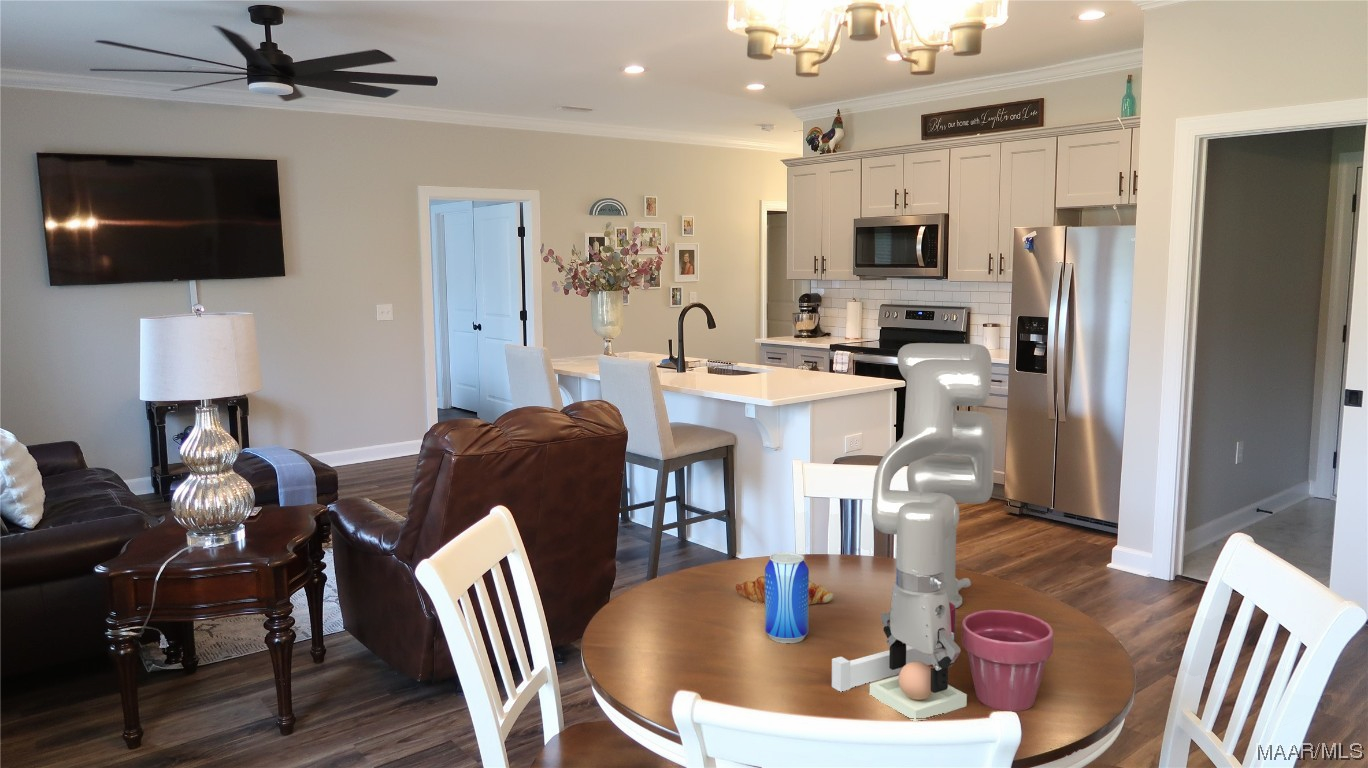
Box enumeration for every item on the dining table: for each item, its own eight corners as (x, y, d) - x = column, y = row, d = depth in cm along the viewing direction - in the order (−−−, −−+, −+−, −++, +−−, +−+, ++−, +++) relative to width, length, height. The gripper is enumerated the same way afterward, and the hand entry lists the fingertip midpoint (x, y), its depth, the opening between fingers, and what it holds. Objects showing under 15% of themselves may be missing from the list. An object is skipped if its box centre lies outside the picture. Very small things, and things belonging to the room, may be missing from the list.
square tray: (918, 680, 158) (919, 669, 158) (966, 706, 149) (966, 694, 149) (869, 695, 153) (869, 683, 153) (915, 722, 143) (915, 710, 143)
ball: (917, 686, 155) (918, 652, 154) (943, 700, 150) (944, 665, 149) (890, 694, 152) (891, 660, 151) (916, 709, 147) (916, 673, 146)
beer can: (806, 646, 173) (807, 565, 171) (762, 643, 175) (762, 562, 173) (809, 629, 181) (810, 551, 180) (767, 627, 183) (767, 549, 181)
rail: (943, 654, 169) (944, 628, 168) (953, 659, 167) (954, 633, 166) (831, 686, 156) (831, 658, 156) (840, 692, 154) (840, 664, 154)
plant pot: (1003, 727, 142) (1006, 648, 140) (942, 690, 154) (943, 618, 153) (1070, 707, 148) (1073, 632, 146) (1005, 674, 160) (1008, 604, 159)
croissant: (833, 614, 199) (834, 577, 202) (832, 608, 190) (833, 570, 192) (736, 607, 203) (739, 571, 206) (731, 600, 194) (734, 563, 196)
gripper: (976, 591, 143) (973, 694, 145) (900, 560, 158) (899, 654, 160) (941, 600, 139) (938, 706, 141) (866, 568, 154) (865, 664, 156)
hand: (917, 678), depth 151 cm, fingers open, 9 cm apart
